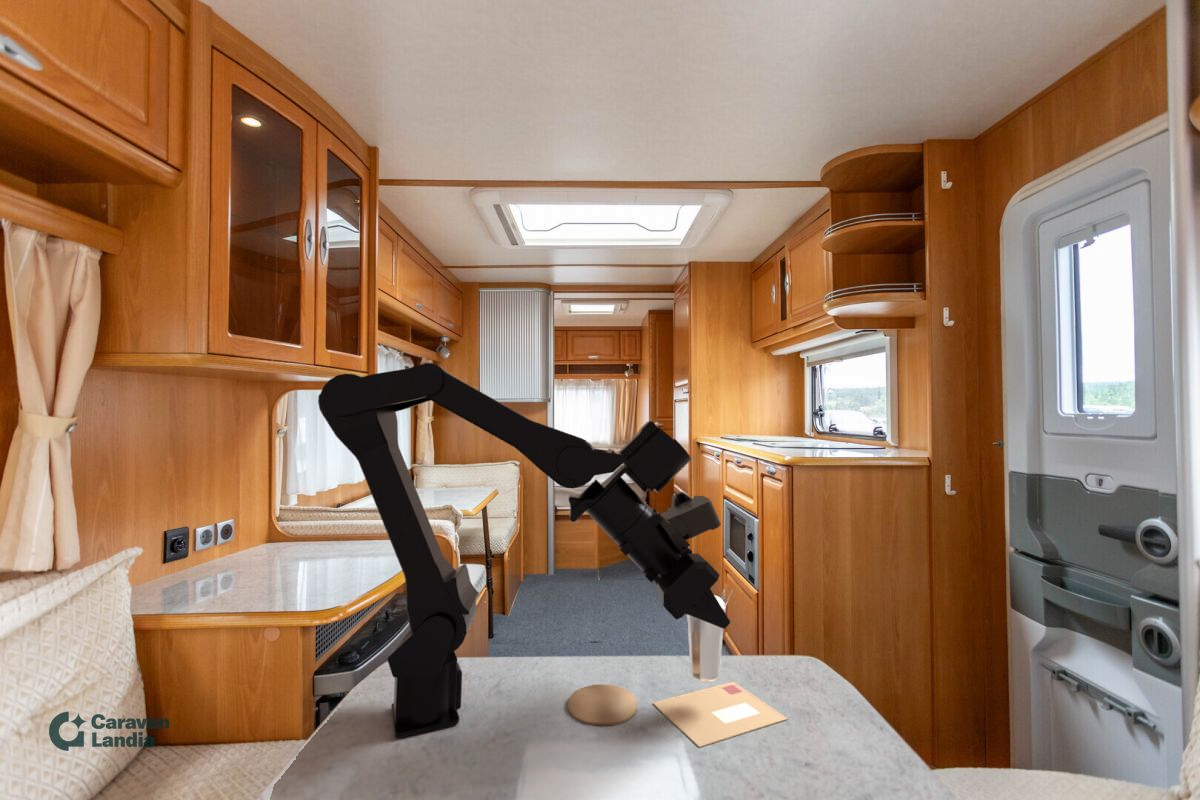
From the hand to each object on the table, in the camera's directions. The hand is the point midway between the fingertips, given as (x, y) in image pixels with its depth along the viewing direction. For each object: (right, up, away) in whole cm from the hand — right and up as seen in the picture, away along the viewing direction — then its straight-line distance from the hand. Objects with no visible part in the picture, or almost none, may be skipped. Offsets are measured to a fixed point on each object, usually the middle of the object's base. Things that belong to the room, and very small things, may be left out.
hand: (720, 617), depth 59 cm
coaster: (-14, -10, -1) cm, 17 cm away
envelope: (-1, -10, -1) cm, 10 cm away
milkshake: (-2, -7, -1) cm, 7 cm away
